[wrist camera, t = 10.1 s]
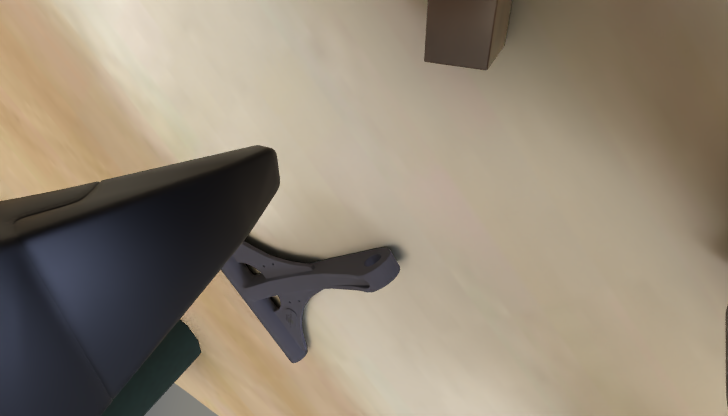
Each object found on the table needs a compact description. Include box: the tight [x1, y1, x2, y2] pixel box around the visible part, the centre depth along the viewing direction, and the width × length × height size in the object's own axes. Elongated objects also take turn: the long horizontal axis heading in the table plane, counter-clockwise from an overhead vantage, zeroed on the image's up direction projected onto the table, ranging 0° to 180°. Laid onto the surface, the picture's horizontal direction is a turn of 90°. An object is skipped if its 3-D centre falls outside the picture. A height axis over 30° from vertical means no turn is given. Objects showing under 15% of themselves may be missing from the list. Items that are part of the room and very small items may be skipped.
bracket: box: [221, 241, 400, 363], centre depth 30 cm, size 14×15×3 cm
